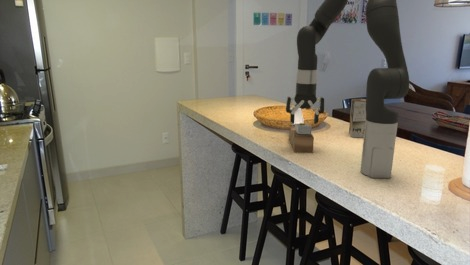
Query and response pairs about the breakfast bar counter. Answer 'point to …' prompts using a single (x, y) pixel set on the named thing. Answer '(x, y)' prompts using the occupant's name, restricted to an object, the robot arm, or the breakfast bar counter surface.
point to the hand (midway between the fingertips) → (303, 123)
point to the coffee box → (357, 118)
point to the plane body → (301, 141)
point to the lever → (297, 116)
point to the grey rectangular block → (303, 128)
